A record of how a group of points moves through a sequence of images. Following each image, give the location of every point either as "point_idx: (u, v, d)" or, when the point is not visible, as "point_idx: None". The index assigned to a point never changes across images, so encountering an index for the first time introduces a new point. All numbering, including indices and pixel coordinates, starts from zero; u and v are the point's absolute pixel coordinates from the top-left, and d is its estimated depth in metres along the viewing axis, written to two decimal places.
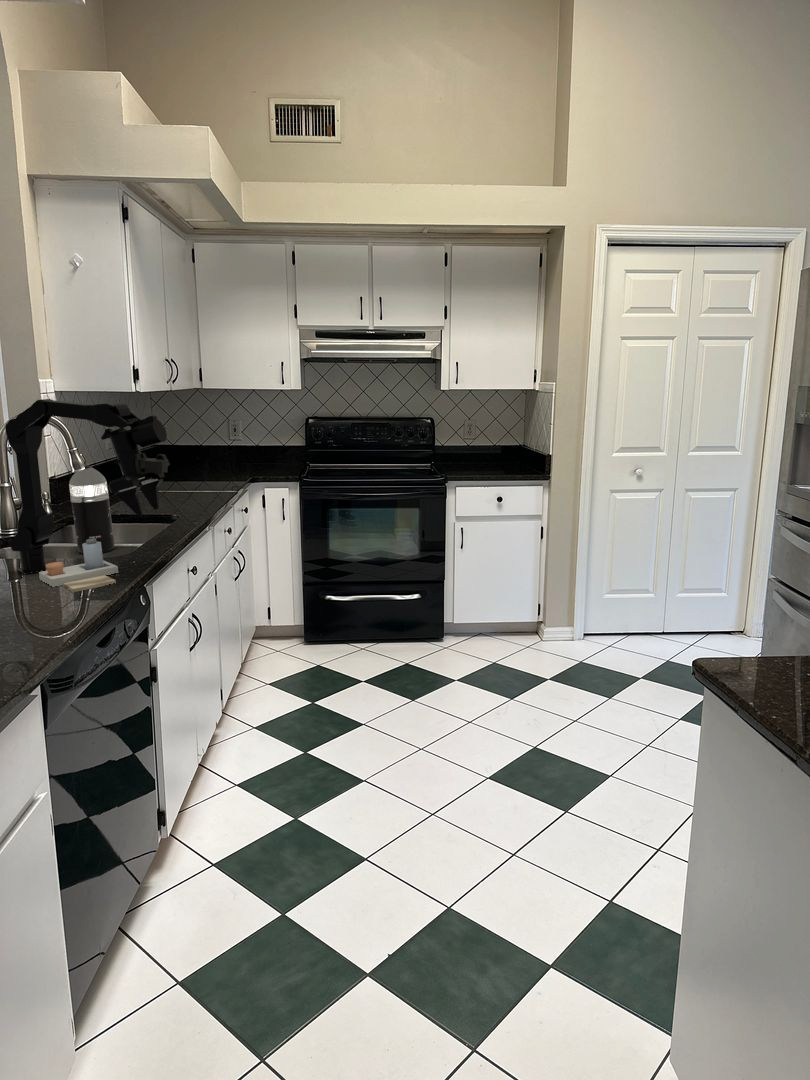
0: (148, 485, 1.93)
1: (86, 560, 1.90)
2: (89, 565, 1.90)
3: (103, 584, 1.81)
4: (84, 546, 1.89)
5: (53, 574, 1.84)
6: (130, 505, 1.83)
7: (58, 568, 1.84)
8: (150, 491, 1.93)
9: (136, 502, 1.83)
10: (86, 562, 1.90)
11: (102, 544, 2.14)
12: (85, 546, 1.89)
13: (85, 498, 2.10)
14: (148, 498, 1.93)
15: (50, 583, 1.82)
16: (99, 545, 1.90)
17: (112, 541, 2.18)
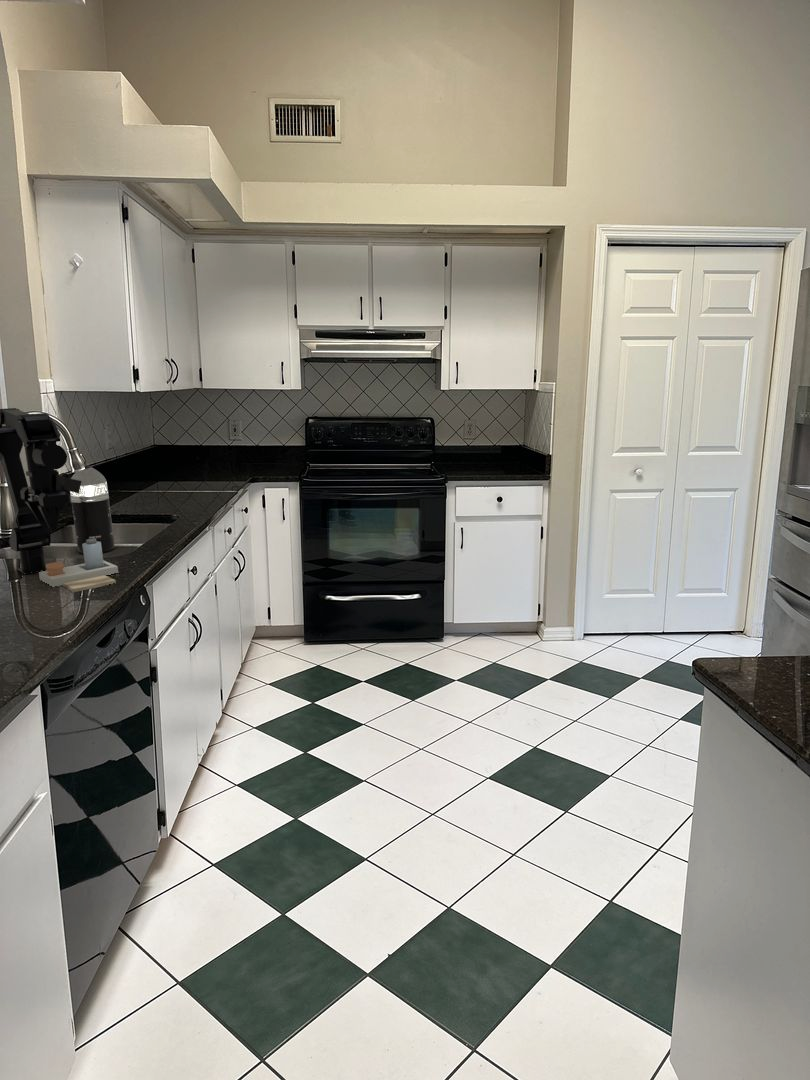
0: (40, 502, 1.85)
1: (86, 560, 1.90)
2: (89, 565, 1.90)
3: (103, 584, 1.81)
4: (84, 546, 1.89)
5: (53, 574, 1.84)
6: (49, 520, 1.79)
7: (58, 568, 1.84)
8: None
9: (57, 518, 1.80)
10: (86, 562, 1.90)
11: (102, 544, 2.14)
12: (85, 546, 1.89)
13: (85, 498, 2.10)
14: (38, 516, 1.84)
15: (50, 583, 1.82)
16: (99, 545, 1.90)
17: (112, 541, 2.18)
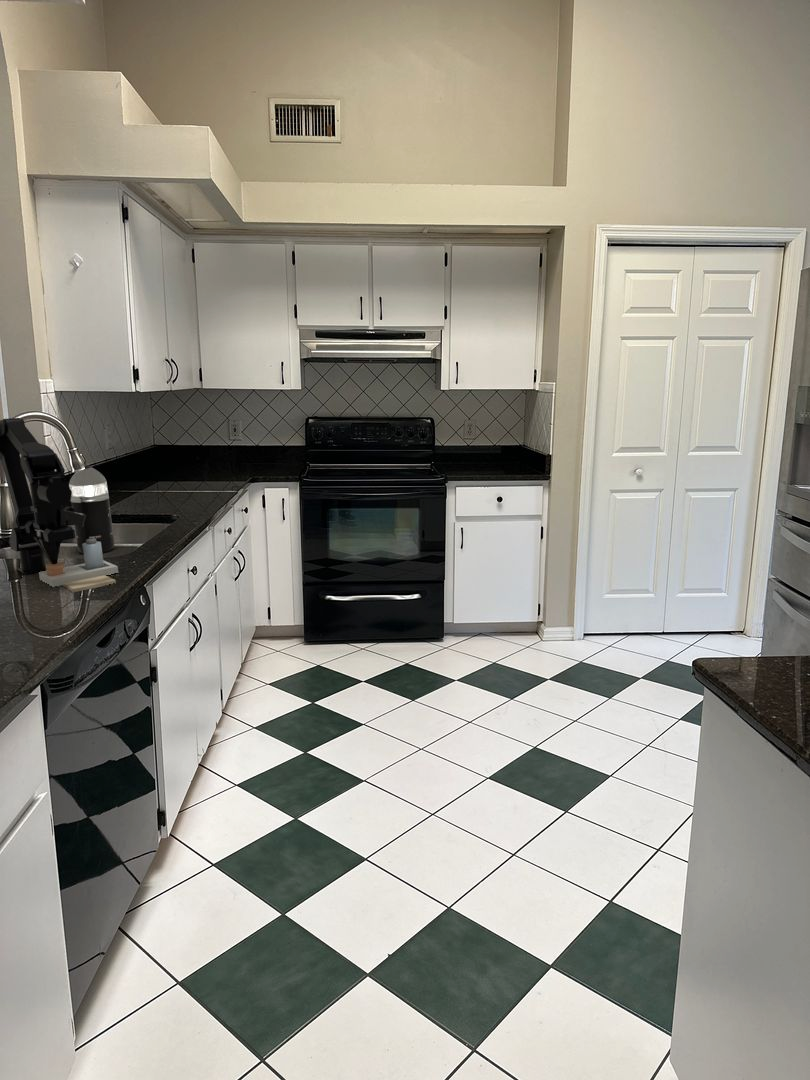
0: None
1: (86, 560, 1.90)
2: (89, 565, 1.90)
3: (103, 584, 1.81)
4: (84, 546, 1.89)
5: (53, 574, 1.84)
6: (50, 553, 1.83)
7: (58, 568, 1.84)
8: None
9: (57, 550, 1.84)
10: (86, 562, 1.90)
11: (102, 544, 2.14)
12: (85, 546, 1.89)
13: (85, 498, 2.10)
14: None
15: (50, 583, 1.82)
16: (99, 545, 1.90)
17: (112, 541, 2.18)
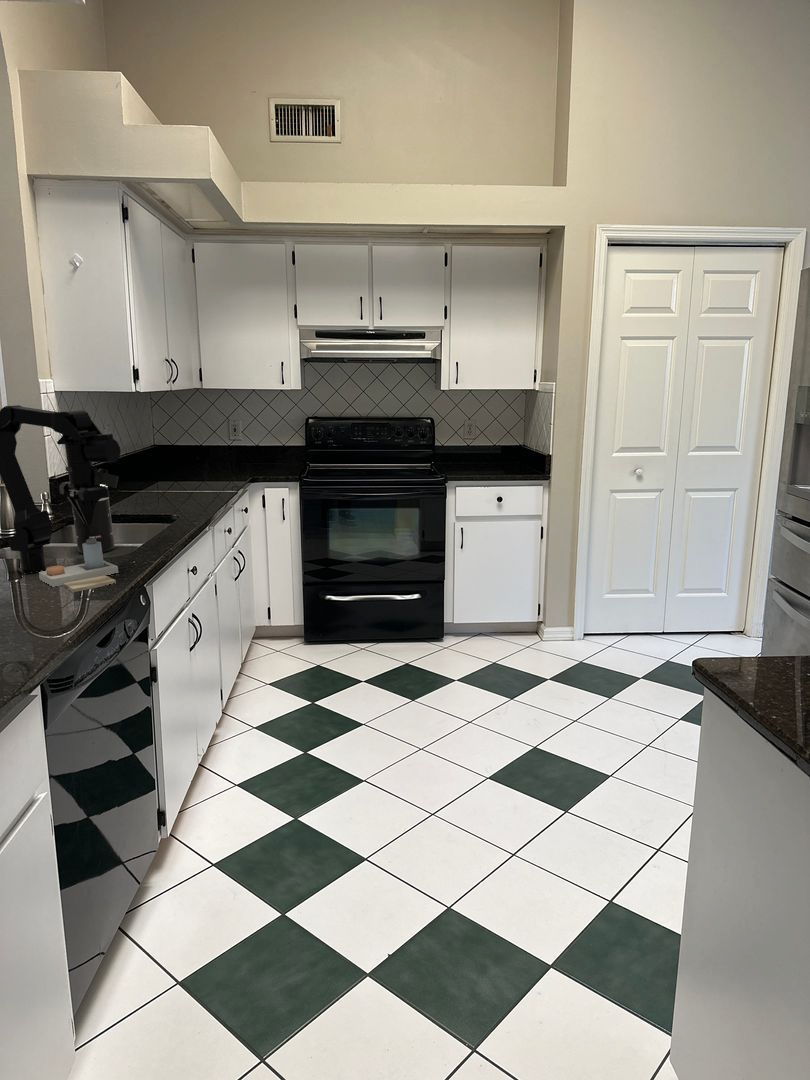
0: None
1: (86, 560, 1.90)
2: (89, 565, 1.90)
3: (103, 584, 1.81)
4: (84, 546, 1.89)
5: None
6: (85, 513, 1.86)
7: (59, 572, 1.84)
8: None
9: (92, 511, 1.87)
10: (86, 562, 1.90)
11: (102, 544, 2.14)
12: (85, 546, 1.89)
13: None
14: (80, 511, 1.89)
15: (50, 583, 1.82)
16: (99, 545, 1.90)
17: (112, 541, 2.18)
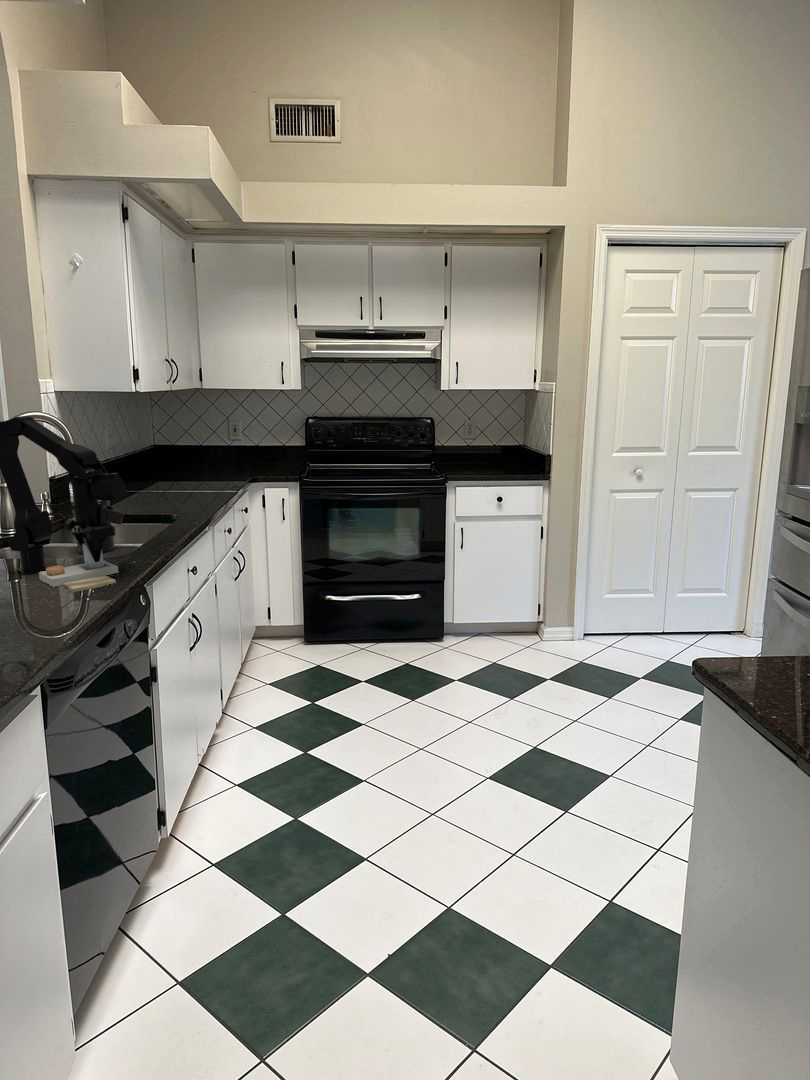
0: (85, 534, 1.92)
1: (86, 560, 1.90)
2: (89, 565, 1.90)
3: (103, 584, 1.81)
4: (84, 546, 1.89)
5: None
6: (93, 551, 1.88)
7: (59, 572, 1.84)
8: None
9: (100, 548, 1.89)
10: (86, 562, 1.90)
11: None
12: (85, 546, 1.89)
13: None
14: None
15: (50, 583, 1.82)
16: None
17: (112, 541, 2.18)
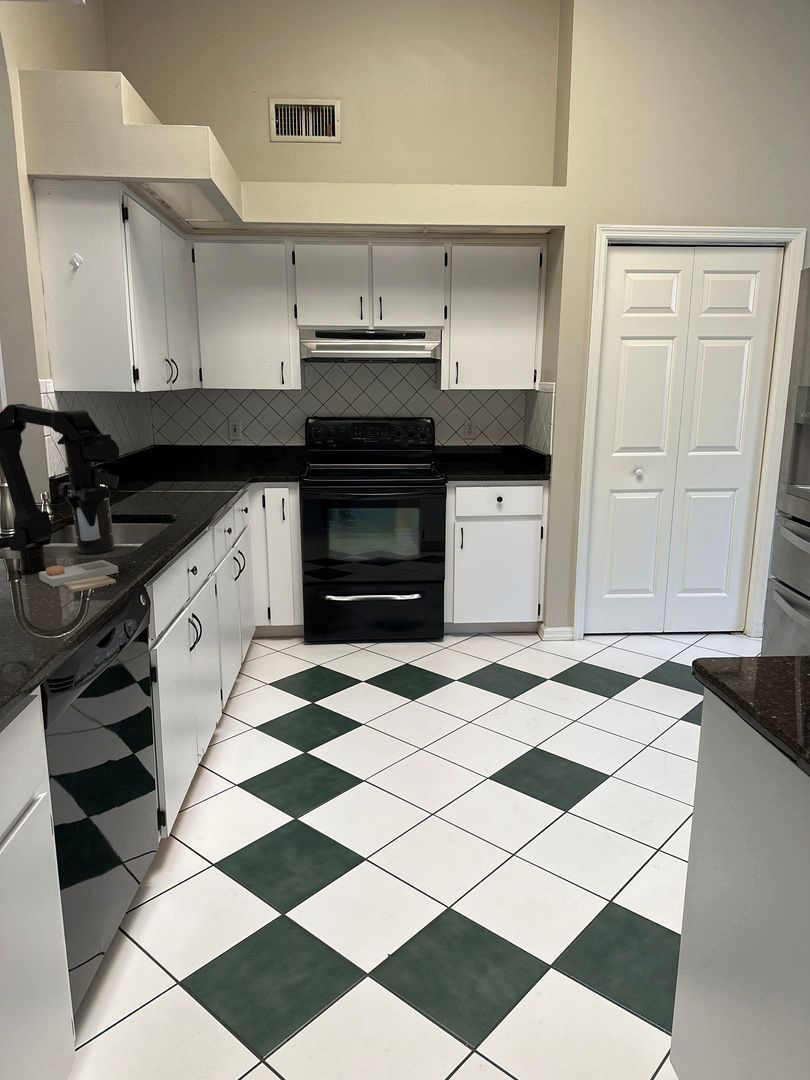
0: (79, 498, 1.88)
1: (81, 524, 1.85)
2: (84, 529, 1.85)
3: (103, 584, 1.81)
4: (78, 510, 1.85)
5: None
6: (87, 514, 1.83)
7: (59, 572, 1.84)
8: None
9: (95, 512, 1.84)
10: (81, 526, 1.85)
11: (102, 544, 2.14)
12: (79, 509, 1.84)
13: None
14: None
15: (50, 583, 1.82)
16: None
17: (112, 541, 2.18)
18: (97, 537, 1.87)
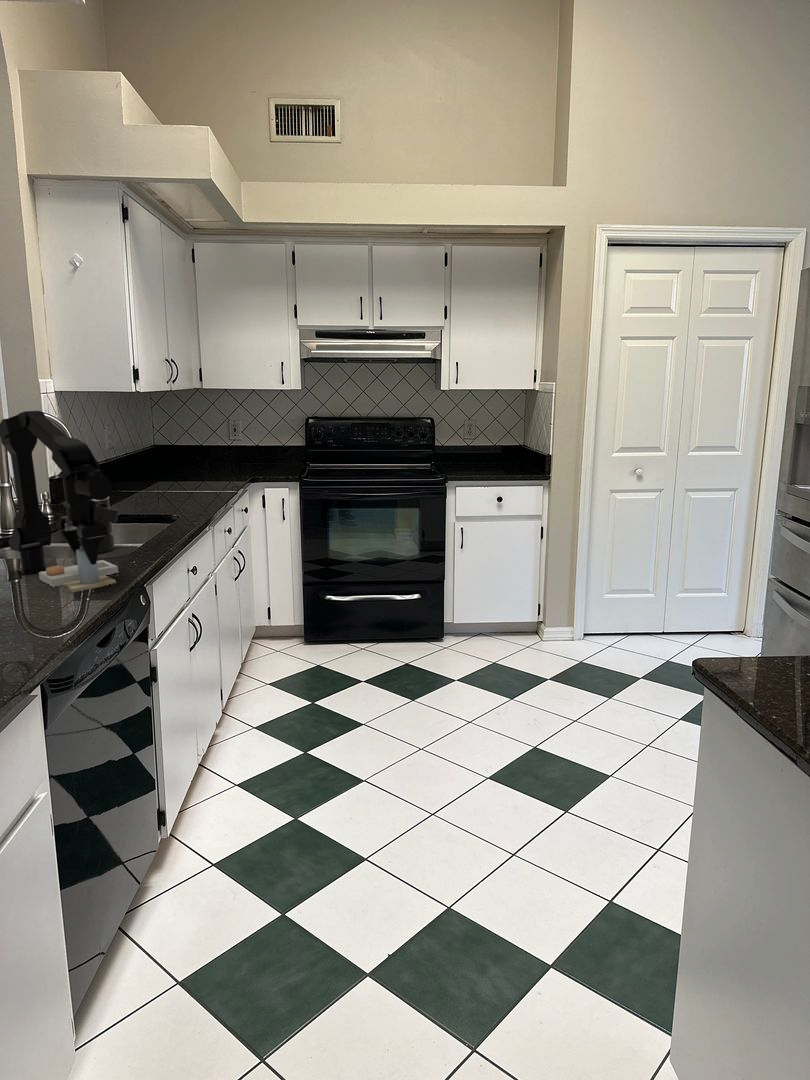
0: (74, 532, 1.83)
1: (80, 567, 1.79)
2: (83, 573, 1.79)
3: (103, 584, 1.81)
4: (78, 552, 1.78)
5: None
6: (89, 552, 1.75)
7: (59, 572, 1.84)
8: (76, 538, 1.83)
9: (97, 550, 1.76)
10: (80, 569, 1.79)
11: (102, 544, 2.14)
12: (78, 552, 1.78)
13: None
14: (73, 546, 1.83)
15: (50, 583, 1.82)
16: None
17: (112, 541, 2.18)
18: (96, 580, 1.81)
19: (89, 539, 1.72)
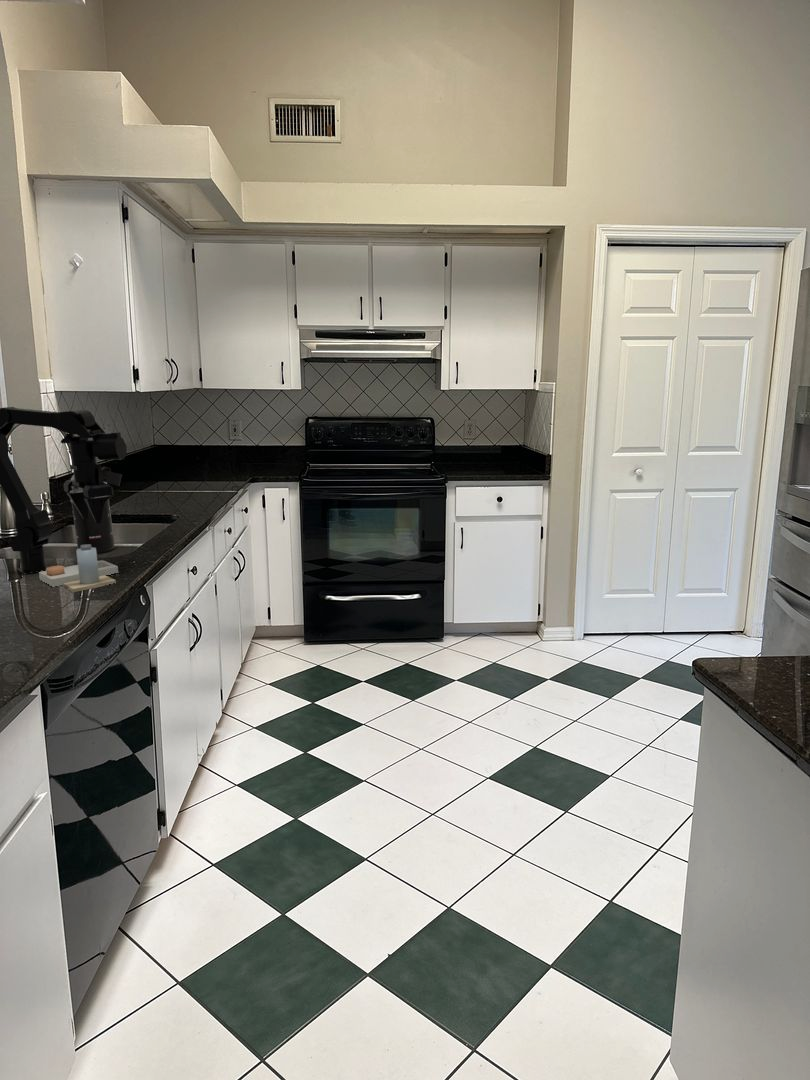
0: (81, 494, 1.96)
1: (80, 567, 1.79)
2: (83, 572, 1.79)
3: (103, 584, 1.81)
4: (78, 552, 1.78)
5: None
6: (94, 512, 1.88)
7: (59, 572, 1.84)
8: (82, 500, 1.96)
9: (102, 510, 1.89)
10: (80, 569, 1.79)
11: (102, 544, 2.14)
12: (78, 552, 1.78)
13: None
14: (79, 507, 1.95)
15: (50, 583, 1.82)
16: (94, 551, 1.80)
17: (112, 541, 2.18)
18: (96, 580, 1.81)
19: (95, 499, 1.85)
